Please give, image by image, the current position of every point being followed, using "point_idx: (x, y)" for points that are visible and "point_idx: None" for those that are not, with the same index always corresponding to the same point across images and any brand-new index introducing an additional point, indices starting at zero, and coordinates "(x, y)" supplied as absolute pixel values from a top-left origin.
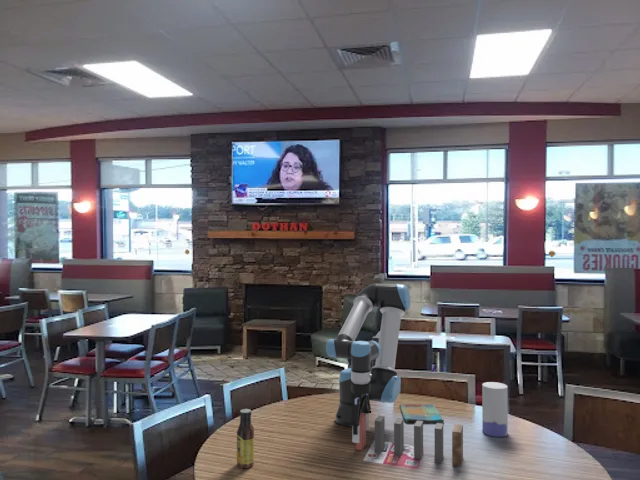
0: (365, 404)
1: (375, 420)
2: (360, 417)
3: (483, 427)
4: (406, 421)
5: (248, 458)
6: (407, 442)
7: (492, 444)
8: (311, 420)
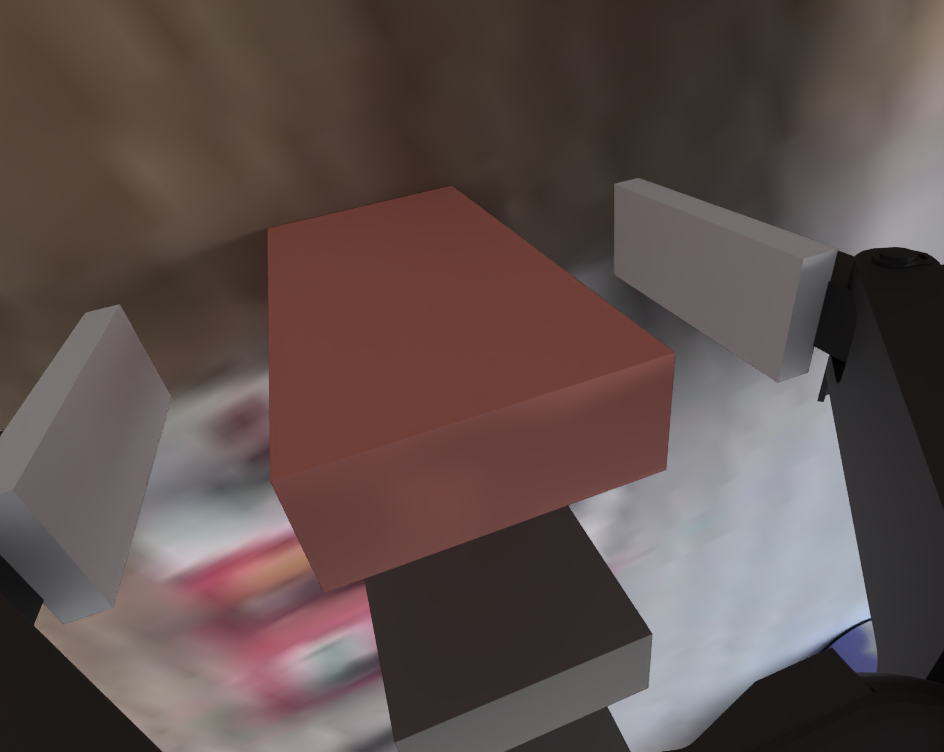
0: (884, 627)
1: (412, 741)
2: (401, 519)
3: (865, 657)
4: None
5: None
6: (641, 485)
7: (728, 704)
8: None
